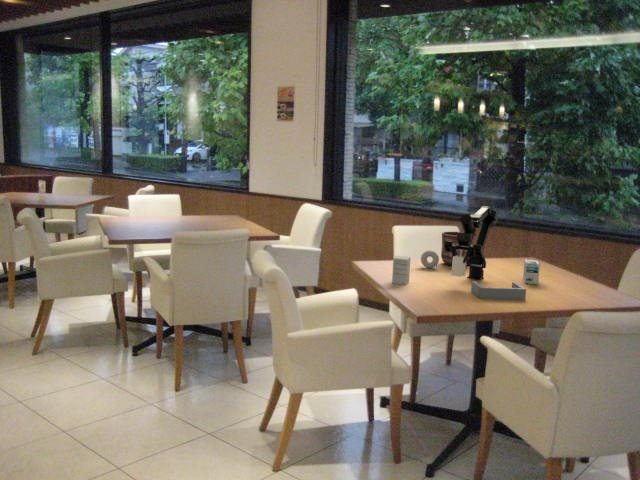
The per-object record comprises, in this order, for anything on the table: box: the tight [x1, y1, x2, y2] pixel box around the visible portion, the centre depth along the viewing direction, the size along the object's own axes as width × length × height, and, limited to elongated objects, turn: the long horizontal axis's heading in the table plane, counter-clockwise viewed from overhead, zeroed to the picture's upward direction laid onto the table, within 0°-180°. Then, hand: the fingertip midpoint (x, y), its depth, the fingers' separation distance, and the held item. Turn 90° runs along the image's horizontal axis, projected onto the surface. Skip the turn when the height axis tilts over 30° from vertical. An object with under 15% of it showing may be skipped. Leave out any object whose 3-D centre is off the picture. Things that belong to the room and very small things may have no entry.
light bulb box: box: [522, 259, 541, 285], centre depth 323 cm, size 11×7×11 cm, turn 168°
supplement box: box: [391, 255, 411, 285], centre depth 310 cm, size 7×7×13 cm
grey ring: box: [420, 250, 440, 269], centre depth 348 cm, size 10×4×10 cm, turn 70°
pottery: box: [440, 231, 473, 267], centre depth 360 cm, size 18×18×18 cm
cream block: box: [450, 255, 467, 278], centre depth 303 cm, size 5×5×9 cm
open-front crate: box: [470, 280, 527, 301], centre depth 292 cm, size 14×21×5 cm, turn 93°
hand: (458, 262), depth 301 cm, fingers closed on cream block, 5 cm apart
